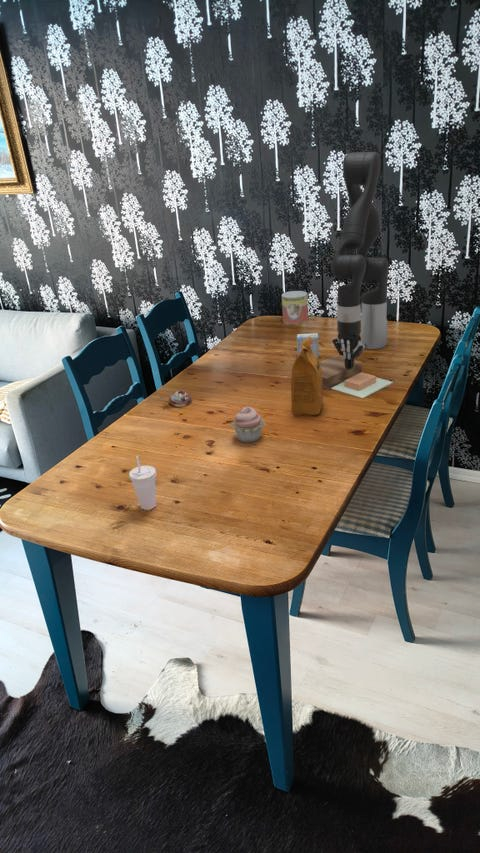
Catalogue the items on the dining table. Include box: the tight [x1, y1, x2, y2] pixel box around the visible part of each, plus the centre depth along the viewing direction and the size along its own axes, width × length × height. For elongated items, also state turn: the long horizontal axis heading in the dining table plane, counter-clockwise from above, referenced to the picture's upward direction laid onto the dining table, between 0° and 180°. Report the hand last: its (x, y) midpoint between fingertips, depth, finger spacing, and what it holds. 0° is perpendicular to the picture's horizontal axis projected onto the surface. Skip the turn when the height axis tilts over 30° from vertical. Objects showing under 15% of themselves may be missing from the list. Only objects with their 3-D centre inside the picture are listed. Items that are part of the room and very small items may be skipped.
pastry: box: [168, 389, 193, 409], centre depth 204 cm, size 8×8×5 cm
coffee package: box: [290, 337, 324, 416], centre depth 188 cm, size 10×12×22 cm
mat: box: [330, 376, 394, 400], centre depth 205 cm, size 16×13×1 cm
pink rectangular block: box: [344, 371, 377, 391], centre depth 205 cm, size 9×6×2 cm, turn 132°
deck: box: [319, 355, 363, 391], centre depth 213 cm, size 18×12×4 cm, turn 132°
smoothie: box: [128, 455, 157, 511], centre depth 148 cm, size 6×6×14 cm
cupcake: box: [231, 406, 265, 444], centre depth 176 cm, size 9×9×10 cm
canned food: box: [281, 290, 309, 325], centre depth 274 cm, size 11×11×12 cm
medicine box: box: [296, 332, 320, 359], centre depth 232 cm, size 8×4×9 cm, turn 84°
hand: (349, 368), depth 206 cm, fingers closed
